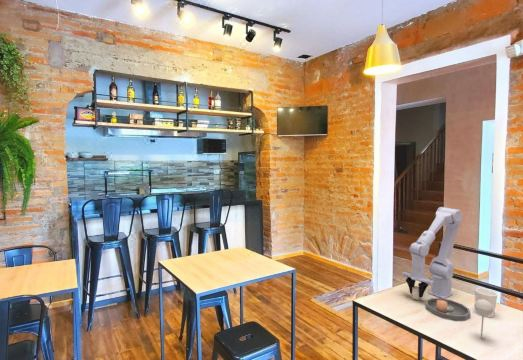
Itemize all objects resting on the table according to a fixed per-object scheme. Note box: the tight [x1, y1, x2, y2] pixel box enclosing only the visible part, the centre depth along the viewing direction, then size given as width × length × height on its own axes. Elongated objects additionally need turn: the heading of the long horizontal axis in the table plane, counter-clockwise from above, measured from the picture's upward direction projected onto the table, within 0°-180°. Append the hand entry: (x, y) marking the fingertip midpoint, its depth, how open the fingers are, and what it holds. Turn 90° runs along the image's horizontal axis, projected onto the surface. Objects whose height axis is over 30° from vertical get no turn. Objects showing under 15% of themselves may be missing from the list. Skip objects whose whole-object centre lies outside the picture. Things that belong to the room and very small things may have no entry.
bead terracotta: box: [436, 300, 447, 314], centre depth 139 cm, size 4×4×5 cm
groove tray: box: [425, 297, 471, 322], centre depth 142 cm, size 17×17×2 cm
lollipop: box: [473, 299, 493, 339], centre depth 121 cm, size 6×6×15 cm
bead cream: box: [411, 285, 422, 301], centre depth 153 cm, size 4×4×5 cm
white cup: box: [474, 287, 498, 318], centre depth 140 cm, size 8×8×10 cm
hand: (416, 295), depth 153 cm, fingers closed on bead cream, 4 cm apart
